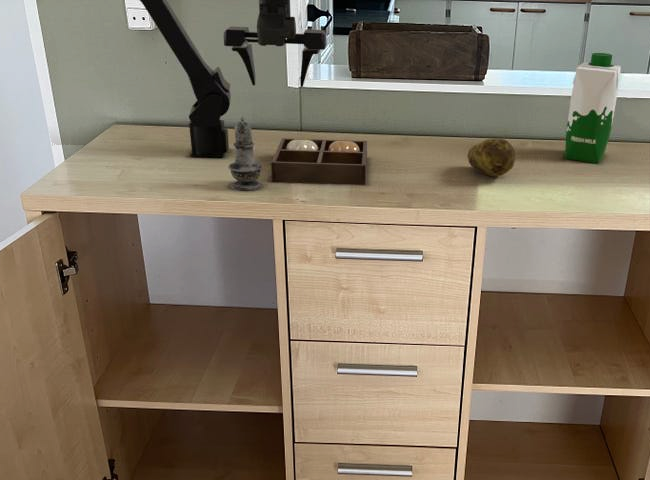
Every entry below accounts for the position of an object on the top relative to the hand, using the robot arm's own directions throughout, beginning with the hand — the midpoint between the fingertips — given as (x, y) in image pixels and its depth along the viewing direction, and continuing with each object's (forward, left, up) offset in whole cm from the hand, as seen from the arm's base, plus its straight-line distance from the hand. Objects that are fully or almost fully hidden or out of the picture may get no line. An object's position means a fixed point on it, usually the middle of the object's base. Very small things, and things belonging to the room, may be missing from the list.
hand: (278, 85), depth 147 cm
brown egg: (+13, -6, -13) cm, 20 cm away
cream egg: (+5, -6, -13) cm, 15 cm away
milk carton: (+63, +4, -13) cm, 64 cm away
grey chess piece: (-3, -22, -13) cm, 26 cm away
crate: (+9, -10, -13) cm, 19 cm away
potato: (+41, -12, -13) cm, 45 cm away
